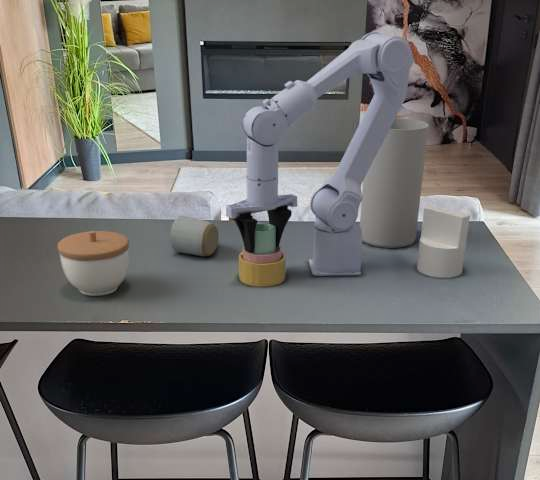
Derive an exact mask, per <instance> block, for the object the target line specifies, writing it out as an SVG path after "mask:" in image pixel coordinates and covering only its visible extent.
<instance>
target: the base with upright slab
mask: <svg viewBox="0 0 540 480" xmlns="http://www.w3.org/2000/svg"><path fill="white" fill-rule="evenodd" d="M470 219H471V213H467V212H464V211H459V210H454V209H450V208H446V207H442V206H437V205H434V204H431V205H426V206H425V207H424V208H423V215H422V223H421V230H420V231H421V232H420V238H419V242H418V243H419V244H418V253H417V261H416V269H417V271H418V272H419V273H421V274H423V275H425V276H428V277H432V278H440V279H441V278H442V279H447V278H454V277H459V276H460V275H461V274H462V273H463V269H464V261H465V255H466V248H467V240H468V233H469V225H470Z"/></svg>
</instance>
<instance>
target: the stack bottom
mask: <svg viewBox="0 0 540 480" xmlns="http://www.w3.org/2000/svg"><path fill="white" fill-rule="evenodd" d="M286 256H287V255H286V254H285V252H283V251H282V259H281V260H280V261H278V262H274V263H268V264H257V263H251V262H247V261H245V260H243V251H241V252H240V253H239V254H238V279H239V281H240V282H241V283H242V284H245V285H248V286H252V287H260V288H261V287H262V288H263V287H264V288H265V287H272V286H273V287H274V286H277V285H280V284H282V283H283V282H284V281H285V280H286V268H287V267H286V265H287V263H286V262H287V257H286Z"/></svg>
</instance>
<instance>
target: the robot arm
mask: <svg viewBox="0 0 540 480" xmlns="http://www.w3.org/2000/svg"><path fill="white" fill-rule="evenodd" d="M414 58H415V57H414V56H413V52H412V49H411V46H410V43H409V42H408V41H407V39H405V38H404V37H402V36H400V35H388V34H382V33H380V32H378V31H377V32H376V31H372V32H368V33H366V34H365V35H363V36H362V37H361V39H357V40H355V41H353V42H352V43H351V44H350V45H349V47H348V48H347V49H345V50H343V52H342V53H340V54H339V55H338V56H337V57H335V58H334V59H333V60H332V61H331V62H330V63H327V64H326V65H325V66H324V67H323V68H322V69H321V70H319V71H318V72H316V74H314V75H313V76H312V77H311V78H309V79H308V80H306V81H304V80H299V79H297V80H295V81H291V80H289V81H287V82H286V83H284V89H282V90H281V91H280V92H278V93H277V94H275V95H274V96H273V97H271V98H266V99H264V100H263V101H262V105H263V106H254V107H252V108H250V109H249V110H248V111H247V112H246V113H245V116H244V117H243V121H242V122H241V129H242V131H243V134H244V135H245V136H246V199H243V200H240V201H238V202H235V203H232V204H228V205H225V216H226V217H227V218H230V219H231V220H234V223H235V224H236V227H237V228H238V230H239V233H240V235H241V239H242V242H243V247H245V250H246V251H248V252H250V253H252V252H254V235H255V229H256V225H257V224H258V220H257V219H256V218H254V216H253V215H252V214H256V213H263V212H267V217H268V224H271V225H274V226H275V227H276V247H279V246H280V243H281V240H282V237H283V233H284V230H285V228H286V226H287V224H288V223H289V220H290V219H291V217H292V216H293V215H292V213H293V211H292V210H291V209H289V207H290V208H295V207H298V196H297V195H295V194H293V193H289V194H279V142H280V141H281V139H282V138H283V136H284V134H285V130H287V129H289V128H290V127H291V126H293V125H294V124H296V123H297V122H298V121H300V120H301V119H303V118H304V117H305V116H307V115H308V114H310V113H311V112H312V111H313V110H315V109H316V106H317V101H318V99H319V98H320V97H321V96H323V95H324V94H326V93H328V92H329V91H331V90H332V89H333V88H335V87H337V86H338V85H341V83H343V82H345V81H347V80H348V79H349V78H351V77H353V76H354V75H357V74H358V75H360V74H363V75H364V74H365V75H367V76H368V78H369V80H370V84H371V85H372V90H373V93H374V94H373V96H372V98H371V101H370V102H369V104H368V106H367V109H366V111H365V113H364V114H363V117H362V119H361V120H360V122H359V124H358V127H357V128H356V130H355V132H354V135H353V136H352V138H351V141H350V142H349V144H348V146H347V147H346V150H345V152H344V155H343V156H342V158H341V160H340V162H339V164H338V166H337V168H336V171H334V173H332V174H330V175H329V176H327V177H326V178H325V179H324V181H323V183H322V185H321V186H320V187H319V188H318V189H317V190H315V191H314V192H313V194H312V195H311V198H310V201H309V208H310V210H311V213H312V214H313V215H314V216H315V219H314V223H313V225H314V226H313V228H314V229H313V250H312V252H313V253H312V258H311V259H309V260H308V263H309V267H310V270H311V273H312V276H314V277H323V276H325V277H327V276H330V277H331V276H332V277H333V276H360V275H361V273H362V272H361V267H362V251H363V241H362V230H361V227H360V225H354V224H355V223H356V222H357V220H358V216H359V208H360V206H361V203H362V185H363V180H364V178H365V176H366V174H367V172H368V170H369V168H370V166H371V164H372V162H373V160H374V158H375V157H376V155H377V153H378V151H379V149H380V147H381V145H382V143H383V141H384V139H385V137H386V135H387V133H388V131H389V129H390V128H391V126H392V124H393V122H394V120H395V118H397V116H398V114H399V112H400V110H401V108H402V106H403V104H404V102H405V100H406V98H407V96H408V87H409V78H410V70H411V68H412V66H413V65H414V63H415V59H414Z"/></svg>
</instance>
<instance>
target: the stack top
mask: <svg viewBox="0 0 540 480" xmlns="http://www.w3.org/2000/svg"><path fill="white" fill-rule="evenodd" d="M242 252H243V260H245V261H247V262H251V263H257V264H268V263H274V262H278V261H280V260H281V259H282V252H283V248H282V246H281V245H279V247H275V253H274V254H270V255H256V254H251V253H249V252H248V251H246V250H245V247H244V246H243V247H242Z"/></svg>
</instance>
